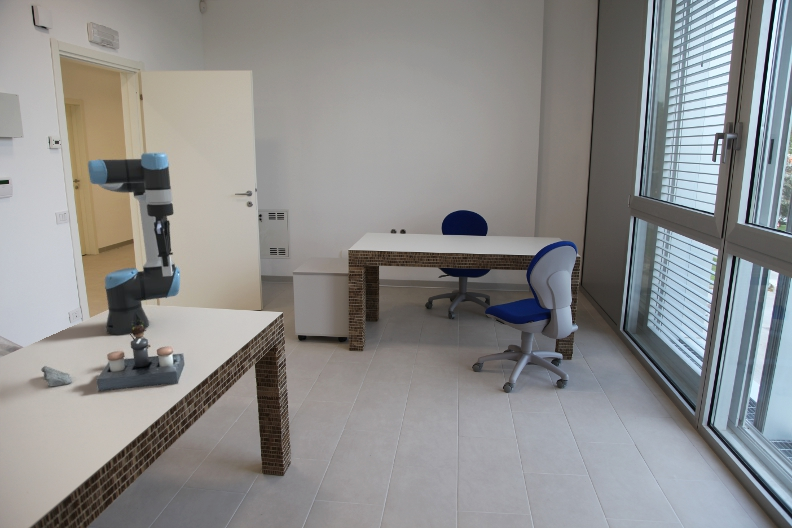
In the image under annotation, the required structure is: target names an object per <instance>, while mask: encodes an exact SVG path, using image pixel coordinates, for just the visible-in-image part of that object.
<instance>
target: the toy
mask: <svg viewBox="0 0 792 528" xmlns="http://www.w3.org/2000/svg"><path fill="white" fill-rule="evenodd" d="M132 322H133V321H132ZM140 322H141V321H140ZM143 322H144V321H143ZM131 324H132V323H131ZM144 326H145V325H144ZM146 327H147V326H146ZM147 328H148V327H147ZM147 328H144V327H143V325H138V324H137V326H136V325H135V326H134V327H133V329H132V331H131V332H132V333H130V334H129V335H130V337H131V338H132V340H135V339H141V338H145V339H146V337H145V332H146V331H147ZM149 348H151V344H148V346H147V350H148V349H149Z"/></svg>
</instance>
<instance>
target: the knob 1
mask: <svg viewBox="0 0 792 528" xmlns="http://www.w3.org/2000/svg"><path fill="white" fill-rule="evenodd" d="M106 356H107V360H108V362H109V364H110V371H111V372H115V371H125V363H124V359H125V352H124V351H123V350H117V351H112V352H109V353H108V354H106Z"/></svg>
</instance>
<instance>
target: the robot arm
mask: <svg viewBox="0 0 792 528" xmlns="http://www.w3.org/2000/svg"><path fill="white" fill-rule="evenodd" d="M168 160H169V159H168V155H167V154H166V153H165V152H145V153H142V154H141V157H140V158H127V159H125V158H123V159H100V158H99V159H91V160H89V161H88V163H87V168H88V169H87V170H88V176H89V181H90V183H91V184H92V185H98V186H99V187H100V188H102V189H104V190H107V191H109V192H115V193H124V194H125V193H127V194H129V193H133V197H134V199H136V200H137V201H138V206H139V212H140V213H139V214H140V221H141V228H142V229H141V230H142V236H143V243H144V251H145V258H146V262H145V263H144V265H143V266H142V271H139V270H138V268H136V267H131V268H130V267H126V268H121V269H118V270H114V271H112V272H109V273H108V274H107V275H105V276H104V289H105V290H106V301H107V307H108V314H107V318H106V324H105V330H106V333H108V334H109V335H117V336H118V335H119V336H120V335H128V334H129V335H130V334H132V332H131V331H132V329H133V327H134V326H135V325H136V326H137V324H138V325H143V327H144V328H146V329H148V328H149V326H150V322H149V318H148V316H147V314H146V312H145V311H144V308H143V305H142V304H143V303H142V302H143V301H150V300H157V299H164V298H165V299H167V298H170V297H171V298H172V297H175V296H176V297H177V295H178V294H179V292H180V289H181V288H180V285H181V272H180V268H179V267H178V266H176V264H175V262H174V261H172V257H171V256H173V255H174V252H172V246H171V244H172V242H171V228H170V227H171V222H170V220H168V217H170V216H172V215H174V214H175V213H174V205H173V203H172V202H173V194H172V193H173V192H172V187H171V178H170V177H171V176H170V163H169V161H168ZM132 321H133V322H132ZM140 321H141V322H140ZM143 321H144V322H143ZM131 323H132V324H131ZM144 325H145V326H144ZM146 326H147V327H146Z"/></svg>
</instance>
